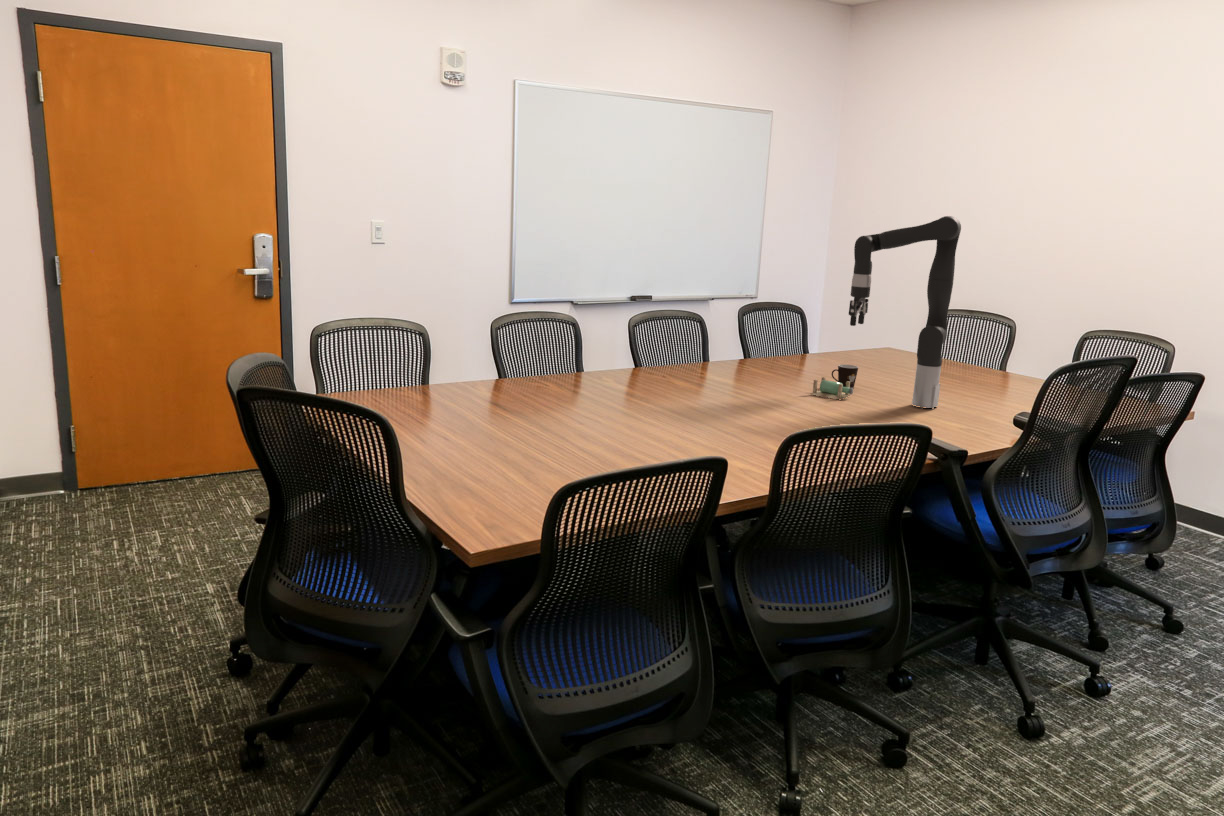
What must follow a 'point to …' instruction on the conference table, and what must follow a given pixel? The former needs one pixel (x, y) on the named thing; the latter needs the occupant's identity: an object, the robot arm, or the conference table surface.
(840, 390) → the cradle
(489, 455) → the conference table surface
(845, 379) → the coffee mug
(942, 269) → the robot arm
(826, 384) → the bottle
